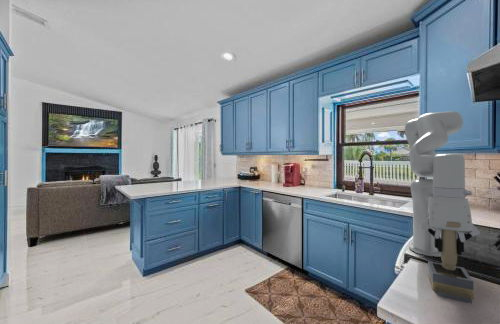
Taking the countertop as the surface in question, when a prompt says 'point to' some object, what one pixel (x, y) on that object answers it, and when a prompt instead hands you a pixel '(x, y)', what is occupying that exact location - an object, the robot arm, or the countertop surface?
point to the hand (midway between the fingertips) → (448, 251)
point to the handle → (449, 247)
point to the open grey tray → (451, 282)
